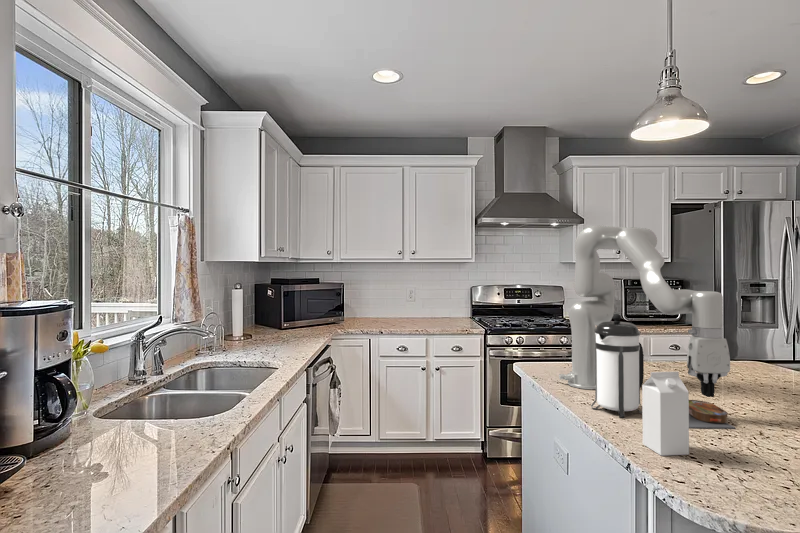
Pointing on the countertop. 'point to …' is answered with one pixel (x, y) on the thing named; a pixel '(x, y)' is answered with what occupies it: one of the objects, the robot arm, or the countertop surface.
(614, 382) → the coffee press
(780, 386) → the countertop surface
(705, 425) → the rubber mat
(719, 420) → the tin
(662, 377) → the milk carton
